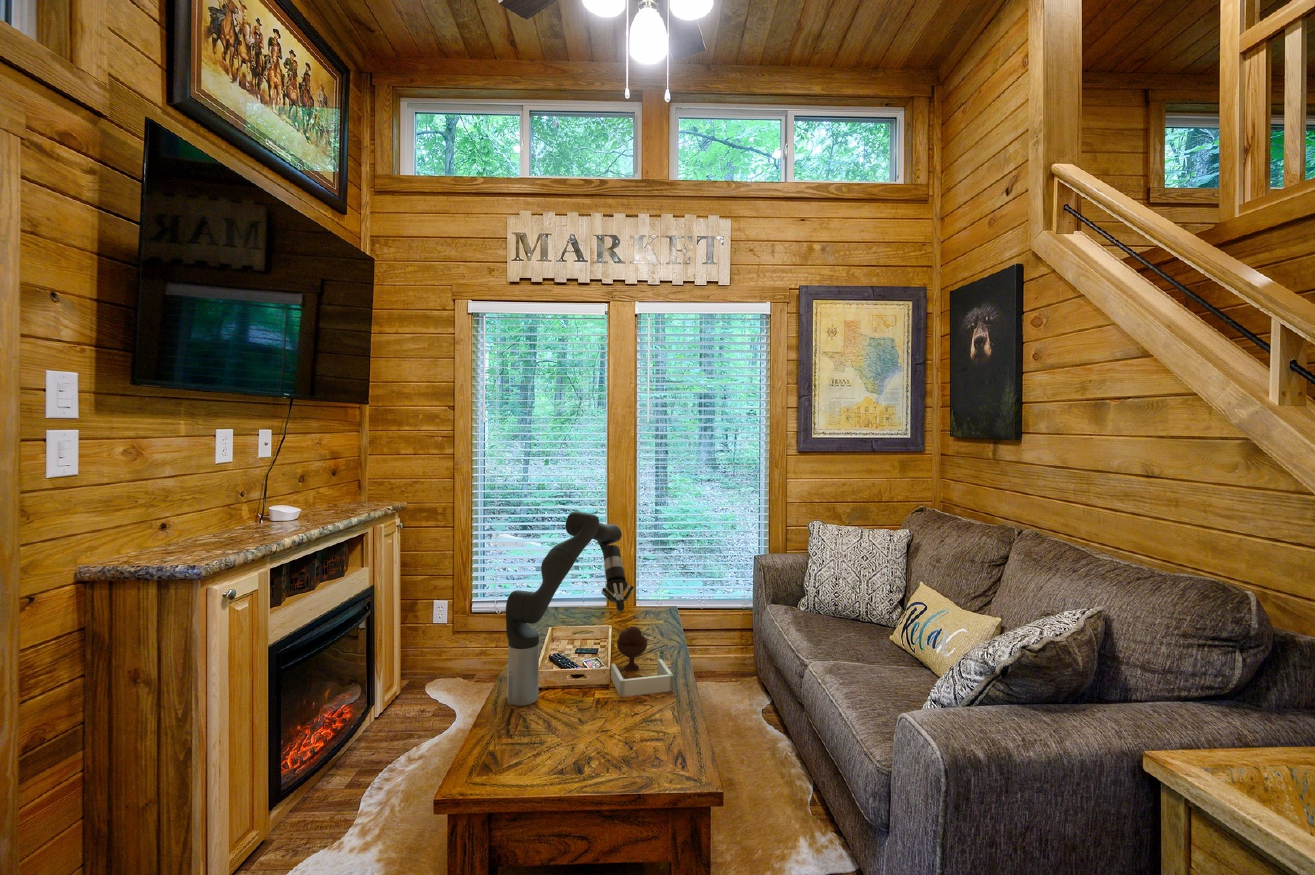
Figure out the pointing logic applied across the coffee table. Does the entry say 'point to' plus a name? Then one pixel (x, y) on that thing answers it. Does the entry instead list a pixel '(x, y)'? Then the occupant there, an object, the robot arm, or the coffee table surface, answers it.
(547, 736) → the coffee table surface
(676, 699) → the coffee table surface
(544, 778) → the coffee table surface
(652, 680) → the corral
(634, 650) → the ice cream bowl
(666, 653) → the coffee table surface
